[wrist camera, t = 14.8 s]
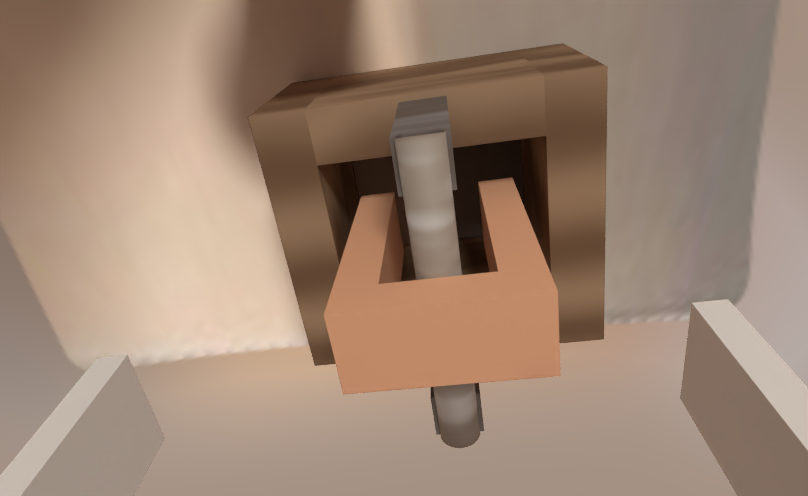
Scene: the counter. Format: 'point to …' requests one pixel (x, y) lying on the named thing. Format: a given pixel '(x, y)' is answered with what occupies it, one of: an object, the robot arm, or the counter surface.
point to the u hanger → (443, 305)
